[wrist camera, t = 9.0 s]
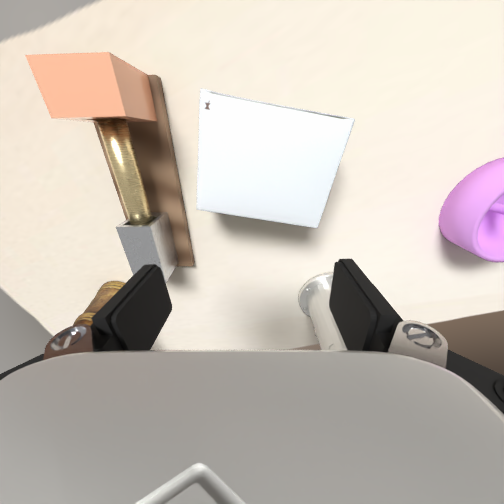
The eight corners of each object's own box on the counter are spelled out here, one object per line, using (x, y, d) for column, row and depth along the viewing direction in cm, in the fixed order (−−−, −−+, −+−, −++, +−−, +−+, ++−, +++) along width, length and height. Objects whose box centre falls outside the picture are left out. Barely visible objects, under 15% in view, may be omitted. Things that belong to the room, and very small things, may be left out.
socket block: (157, 121, 29) (125, 116, 22) (100, 122, 29) (51, 118, 22) (147, 75, 26) (108, 52, 19) (86, 76, 26) (25, 55, 19)
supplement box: (208, 194, 35) (194, 211, 27) (214, 100, 29) (197, 85, 21) (304, 209, 36) (318, 231, 28) (329, 123, 30) (358, 117, 22)
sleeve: (178, 262, 40) (166, 282, 34) (153, 262, 40) (136, 282, 34) (167, 212, 35) (150, 226, 29) (138, 212, 35) (115, 226, 29)
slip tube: (163, 241, 35) (155, 251, 32) (143, 242, 35) (133, 251, 32) (125, 91, 25) (107, 85, 22) (97, 92, 25) (76, 86, 22)
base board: (194, 262, 42) (192, 266, 40) (145, 262, 42) (141, 266, 40) (160, 77, 28) (155, 74, 26) (86, 80, 28) (78, 77, 26)
